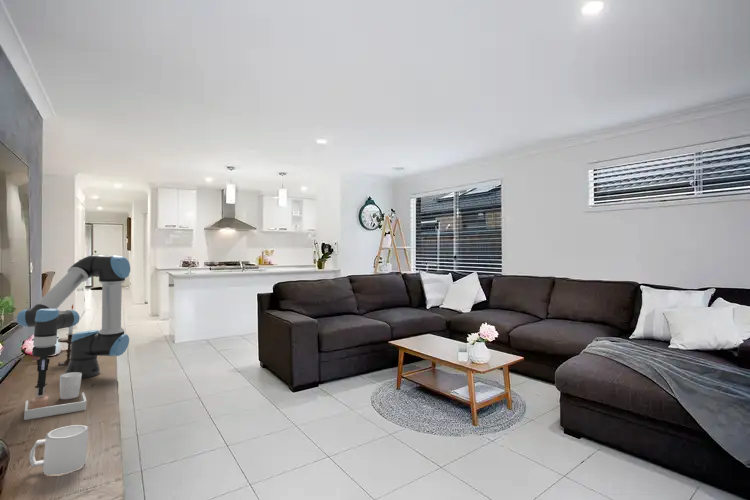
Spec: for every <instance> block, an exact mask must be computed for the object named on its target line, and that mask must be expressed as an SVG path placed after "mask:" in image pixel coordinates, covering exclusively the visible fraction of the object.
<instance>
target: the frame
mask: <svg viewBox="0 0 750 500" xmlns="http://www.w3.org/2000/svg"><path fill="white" fill-rule="evenodd" d="M87 403H88V402H87V397H86V394H85V392H81V399H80V401H76V402H69V403H64V404H63V403H62V404H56V405H50V406H49V405H48V407H42V408H35V409H32V408H30V409H29V400H25V406H24V415H23V416H24V417H23V420H24V421H26V420H32V419H38V418H45V417H51V416H57V415H63V414H69V413H74V412H81V411H86V410H87Z"/></svg>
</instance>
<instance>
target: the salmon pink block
mask: <svg viewBox="0 0 750 500" xmlns="http://www.w3.org/2000/svg"><path fill="white" fill-rule="evenodd" d="M31 401H32V402H31V409H35V408H42V407H49V395H45V396H44V397H37V398H36V397H32V400H31Z"/></svg>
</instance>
